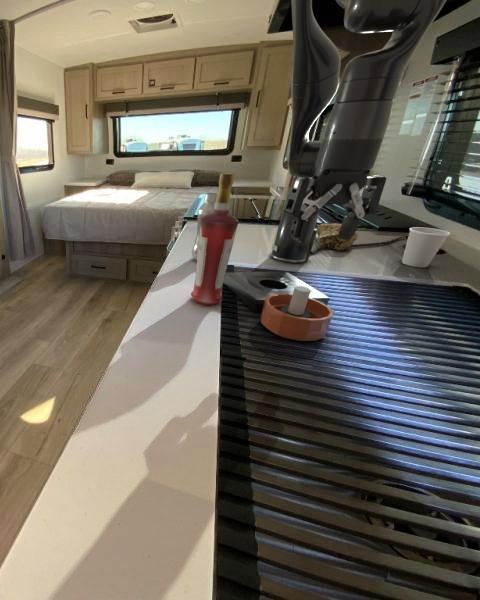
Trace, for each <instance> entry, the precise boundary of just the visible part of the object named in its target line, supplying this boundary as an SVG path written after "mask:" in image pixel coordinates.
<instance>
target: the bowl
mask: <svg viewBox="0 0 480 600" xmlns="http://www.w3.org/2000/svg"><path fill="white" fill-rule="evenodd" d="M292 295H293V294H273V295H270V296H268V297H267V298H266V299H265V302H264V306H263V310H262V312H261V313H260V317H259V319H260V323H261V324H262V326H264V327H265V328H266V329H267V330H269V331H270V332H271V333H272V334H275V335H276V336H278V337H281V338H285V339H288V340H293V341H298V342H312V341H315V342H316V341H318V340H321V339H324V338H325V337H326V335H327V333H328V331H329V328H330V325H331V322H332V320H333V316H334V314H335V313H334V311H333V309H332V308H331V307H330V306H329V305H328V304H327V305H325V304H324V303H322V302H320V301H317V300H315V299H312V298H308V301H307V304H306V307H305V310H306V311H307V312H309V313H310V319H309V318H302V317H296V316H292V315H289V314H286V313H283V312H281V311H280V310H281V308H282V307H286V306H289V305H290V301H291V298H292Z"/></svg>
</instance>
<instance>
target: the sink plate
mask: <svg viewBox="0 0 480 600" xmlns="http://www.w3.org/2000/svg"><path fill="white" fill-rule="evenodd" d="M223 285H225V286H226V287H227V288H228V289H229V290H230V291H231V292H232V293H233V294H234V295H235V296H236V297H237V298H238V299H240V300H241V301H242V302H243V303H244V304H245V305H246V306H247V307H248V308H249V310H251V311H252V312H254V313H256V312H257V313H260V312H261V313H262V310H263V306H264V302H265V299H266V298H267V297H268V296H270V295H273V294H293V292H294V288H295V287H296V286H303V287H307V288H309V289H310V290H311V292H310V295H309V298H312V299H315V300H317V301H320V302H322V303H324V304H325V305H327V306H328V304H329V301H330V297H329V296H328V295H326V294H324V293H323V292H321V291H319V290H317V289H316V288H314V287H313V286H311V285H310V284H308V283H305V282H304V281H303V280H301V279H300V278H298V277H297V276H295V275H293V274H292V273H290V272H288V271H283V270H282V271H242V272H226V273H225V277H224V282H223Z"/></svg>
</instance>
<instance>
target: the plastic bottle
mask: <svg viewBox="0 0 480 600" xmlns="http://www.w3.org/2000/svg"><path fill="white" fill-rule="evenodd" d="M217 195H218V192H205V196H204V199H203V200H204V202H203V203H202V204H201V206H200V207H199V208H198V210H197V216H196V217H197V224H196V225H197V226H196V235H195V240H194V244H193V247H192V250H191V256H192V258H193V260H195V261H197V256H198V244H199V234H200V225H201V219H202V218H203V217H204V216H206V215H208V214H211V213H213V211H214V207H215V203H216V199H217Z"/></svg>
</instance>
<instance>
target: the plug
mask: <svg viewBox="0 0 480 600" xmlns="http://www.w3.org/2000/svg"><path fill="white" fill-rule="evenodd" d="M310 292H311V290H310V289H309V288H307V287H303V286H296V287H295V288H294V292H293V295H292V298H291V301H290V305H289V306H286V307H282V308H281V310H280V311H281V312H283V313H286V314H289V315H292V316H296V317H302V318H309V319H310V313H309V312H307V311H306V310H305V307H306V304H307V301H308V298H309V295H310Z"/></svg>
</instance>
